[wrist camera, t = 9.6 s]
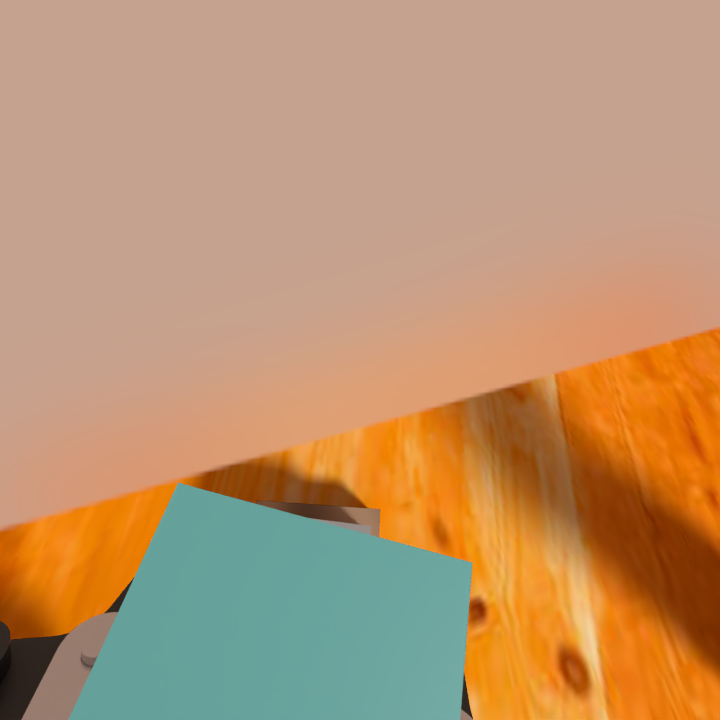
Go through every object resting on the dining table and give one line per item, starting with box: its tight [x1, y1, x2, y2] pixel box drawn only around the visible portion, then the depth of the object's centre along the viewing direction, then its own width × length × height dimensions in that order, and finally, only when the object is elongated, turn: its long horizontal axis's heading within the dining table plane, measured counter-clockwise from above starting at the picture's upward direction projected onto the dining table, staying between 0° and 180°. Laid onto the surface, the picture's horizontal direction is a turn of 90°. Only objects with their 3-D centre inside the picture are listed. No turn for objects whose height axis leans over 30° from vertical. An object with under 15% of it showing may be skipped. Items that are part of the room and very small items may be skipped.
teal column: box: [68, 483, 472, 720], centre depth 9 cm, size 5×5×10 cm
